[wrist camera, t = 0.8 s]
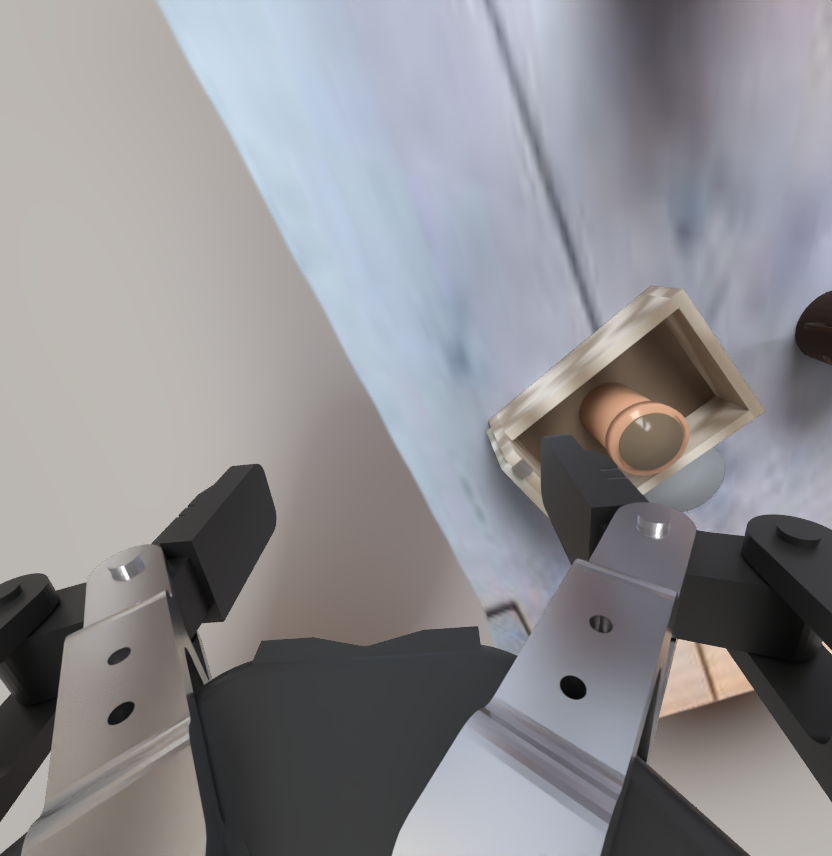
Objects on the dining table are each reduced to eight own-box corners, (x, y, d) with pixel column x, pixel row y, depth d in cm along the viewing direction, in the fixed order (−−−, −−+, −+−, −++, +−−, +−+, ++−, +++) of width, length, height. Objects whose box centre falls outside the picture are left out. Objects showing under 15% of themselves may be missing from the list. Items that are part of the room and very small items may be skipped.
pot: (617, 366, 39) (665, 390, 32) (651, 411, 41) (705, 444, 33) (564, 408, 41) (597, 441, 33) (599, 449, 43) (639, 490, 35)
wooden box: (650, 286, 37) (723, 292, 28) (726, 394, 41) (811, 430, 32) (482, 425, 42) (499, 468, 33) (562, 510, 46) (597, 570, 37)
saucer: (694, 423, 42) (699, 425, 41) (734, 476, 44) (739, 479, 43) (624, 472, 44) (627, 476, 43) (665, 521, 46) (669, 525, 46)
